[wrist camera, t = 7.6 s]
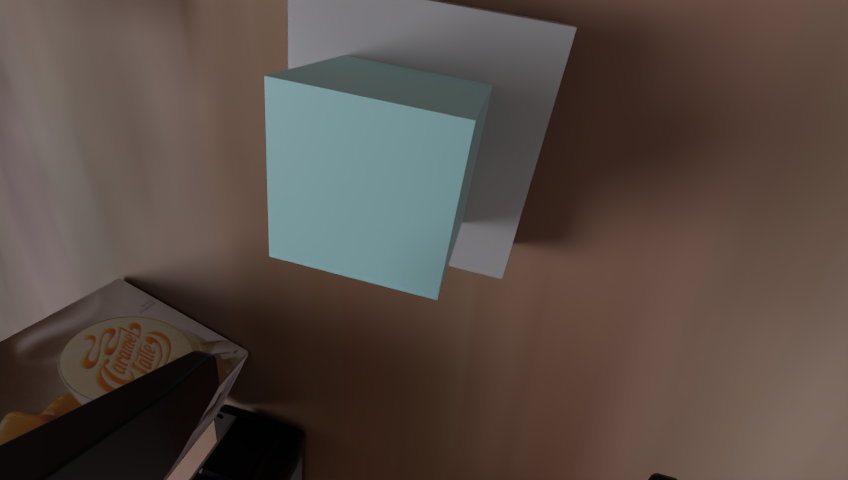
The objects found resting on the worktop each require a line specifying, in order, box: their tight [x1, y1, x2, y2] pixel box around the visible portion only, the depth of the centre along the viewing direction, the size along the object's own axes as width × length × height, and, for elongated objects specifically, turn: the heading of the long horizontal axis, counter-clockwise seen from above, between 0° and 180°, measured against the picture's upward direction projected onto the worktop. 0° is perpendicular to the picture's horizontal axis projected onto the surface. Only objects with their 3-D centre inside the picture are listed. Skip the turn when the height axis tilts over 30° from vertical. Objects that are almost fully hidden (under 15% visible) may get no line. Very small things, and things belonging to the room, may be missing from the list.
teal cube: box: [264, 55, 493, 300], centre depth 13 cm, size 5×5×5 cm
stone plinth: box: [288, 0, 577, 279], centre depth 17 cm, size 9×9×3 cm
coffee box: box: [0, 279, 248, 480], centre depth 20 cm, size 9×6×16 cm
